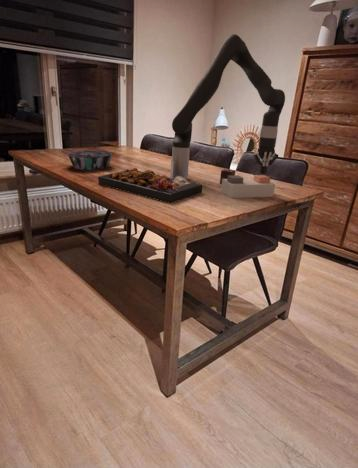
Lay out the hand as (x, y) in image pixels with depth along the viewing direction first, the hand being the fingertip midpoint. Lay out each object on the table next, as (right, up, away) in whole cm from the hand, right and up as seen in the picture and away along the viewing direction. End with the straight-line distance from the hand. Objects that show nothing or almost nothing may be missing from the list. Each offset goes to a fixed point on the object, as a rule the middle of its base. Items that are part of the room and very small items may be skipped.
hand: (262, 173), depth 156 cm
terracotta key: (0, -5, +2) cm, 5 cm away
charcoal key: (-14, -6, -2) cm, 15 cm away
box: (-14, -2, +19) cm, 24 cm away
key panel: (-7, -9, +2) cm, 12 cm away
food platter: (-55, -7, +3) cm, 55 cm away
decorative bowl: (-94, +11, +42) cm, 103 cm away
